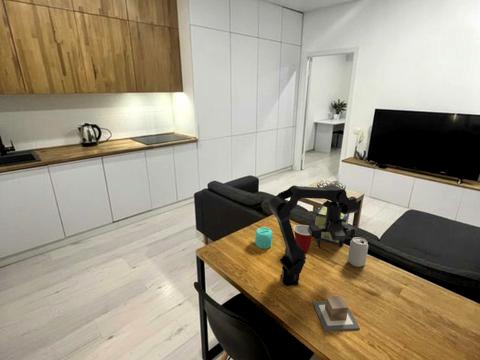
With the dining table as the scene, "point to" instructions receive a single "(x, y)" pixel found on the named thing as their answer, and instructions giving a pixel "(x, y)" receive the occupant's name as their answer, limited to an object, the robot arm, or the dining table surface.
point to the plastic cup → (302, 237)
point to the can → (358, 251)
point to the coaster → (335, 325)
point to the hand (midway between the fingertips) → (329, 247)
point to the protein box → (321, 220)
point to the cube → (336, 308)
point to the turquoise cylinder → (263, 238)
